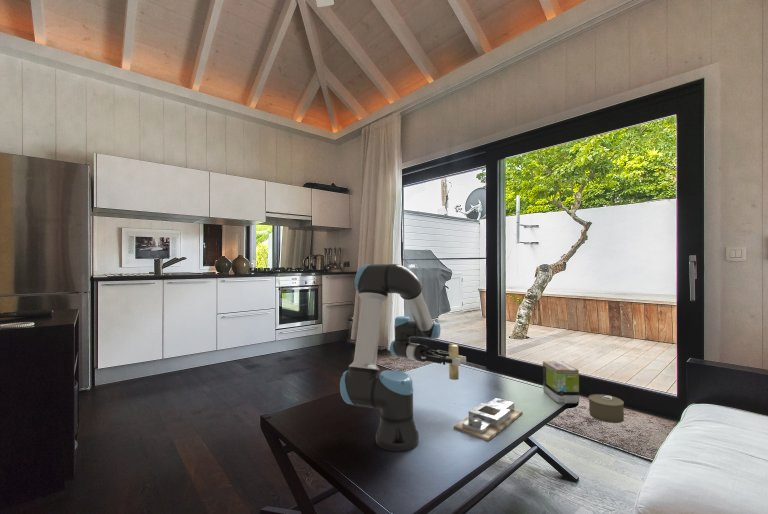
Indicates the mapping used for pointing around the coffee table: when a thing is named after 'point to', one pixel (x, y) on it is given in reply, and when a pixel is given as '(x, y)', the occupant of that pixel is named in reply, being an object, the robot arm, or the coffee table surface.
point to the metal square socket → (488, 415)
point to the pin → (452, 368)
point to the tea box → (561, 381)
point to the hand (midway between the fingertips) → (462, 361)
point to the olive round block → (606, 408)
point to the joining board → (493, 430)
